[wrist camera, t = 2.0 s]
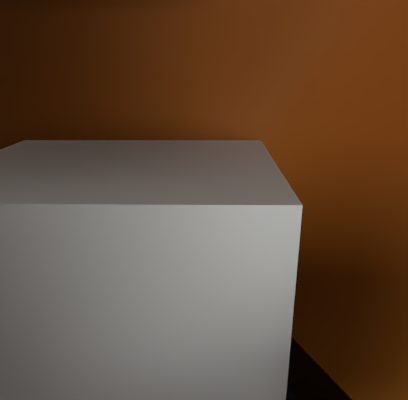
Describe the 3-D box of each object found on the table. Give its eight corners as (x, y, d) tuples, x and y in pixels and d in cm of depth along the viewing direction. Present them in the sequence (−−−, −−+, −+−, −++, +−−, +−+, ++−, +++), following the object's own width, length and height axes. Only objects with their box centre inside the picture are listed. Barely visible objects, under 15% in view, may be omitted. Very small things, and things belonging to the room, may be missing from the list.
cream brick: (260, 139, 8) (302, 205, 4) (248, 425, 11) (266, 623, 7) (25, 139, 8) (-141, 203, 4) (70, 421, 11) (-8, 614, 7)
